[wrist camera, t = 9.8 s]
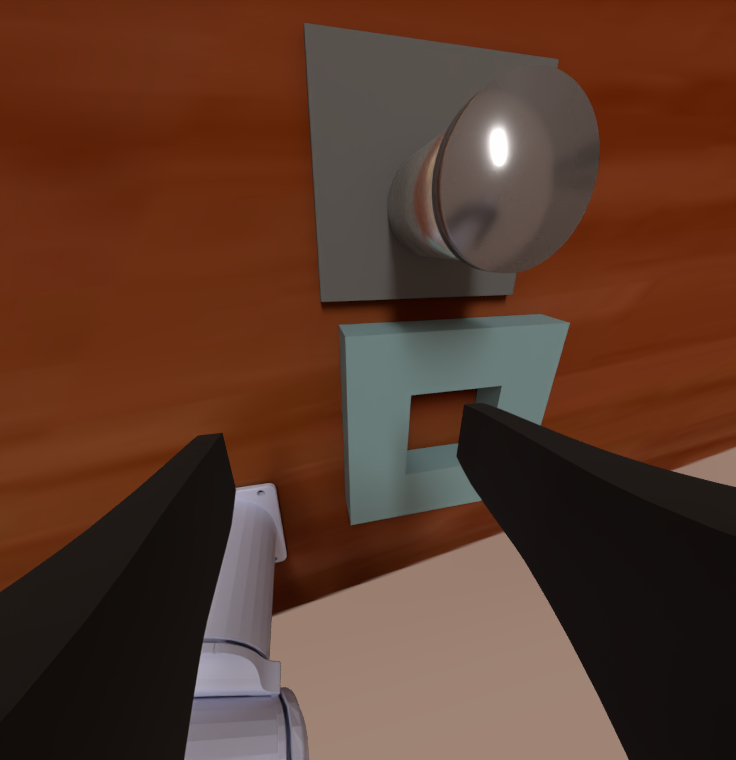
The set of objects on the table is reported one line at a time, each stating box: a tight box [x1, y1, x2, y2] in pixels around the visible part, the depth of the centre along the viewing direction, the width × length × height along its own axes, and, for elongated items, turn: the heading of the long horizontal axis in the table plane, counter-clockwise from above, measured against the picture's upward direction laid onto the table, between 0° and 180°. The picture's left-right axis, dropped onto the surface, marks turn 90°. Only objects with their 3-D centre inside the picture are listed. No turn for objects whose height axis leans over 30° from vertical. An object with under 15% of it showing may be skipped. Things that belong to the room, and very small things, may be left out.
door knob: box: [387, 65, 599, 274], centre depth 13 cm, size 6×6×7 cm
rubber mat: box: [304, 23, 559, 302], centre depth 16 cm, size 12×11×1 cm
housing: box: [339, 314, 570, 525], centre depth 21 cm, size 14×14×2 cm
